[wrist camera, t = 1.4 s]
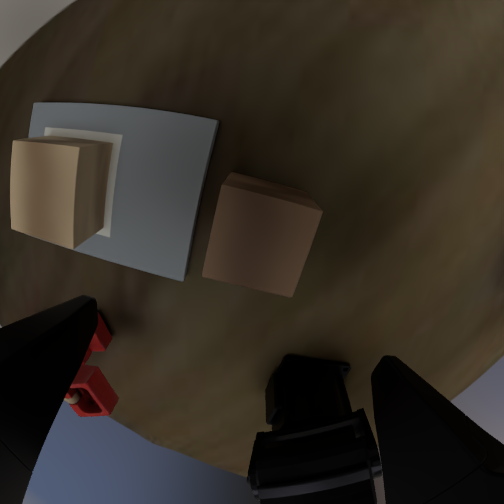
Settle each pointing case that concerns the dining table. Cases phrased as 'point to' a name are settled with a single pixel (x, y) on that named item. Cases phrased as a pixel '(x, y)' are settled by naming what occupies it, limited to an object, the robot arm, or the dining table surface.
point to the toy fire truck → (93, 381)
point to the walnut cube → (261, 234)
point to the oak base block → (59, 188)
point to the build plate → (141, 179)
